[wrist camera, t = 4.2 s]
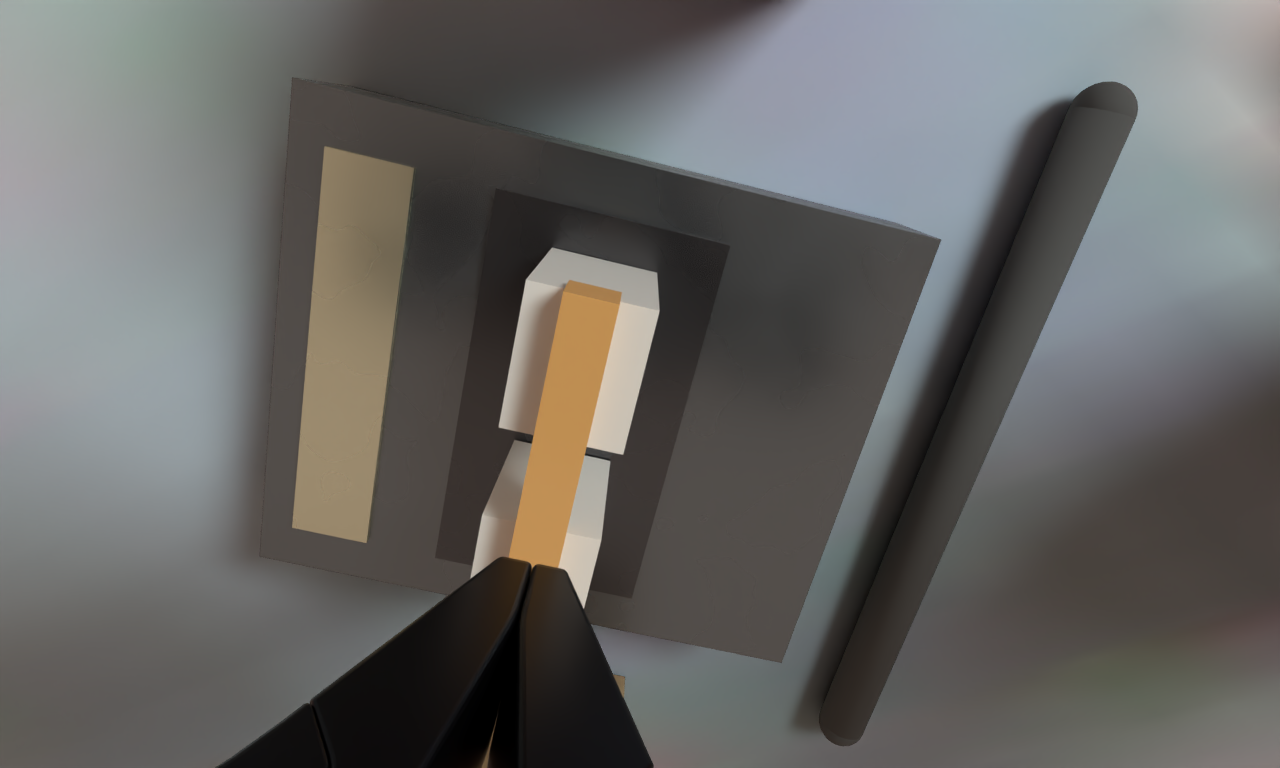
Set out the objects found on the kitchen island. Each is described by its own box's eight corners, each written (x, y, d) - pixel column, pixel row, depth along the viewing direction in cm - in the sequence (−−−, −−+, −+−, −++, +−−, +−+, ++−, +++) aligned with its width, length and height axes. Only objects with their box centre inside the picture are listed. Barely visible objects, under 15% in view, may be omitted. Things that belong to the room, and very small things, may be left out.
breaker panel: (896, 223, 16) (944, 241, 13) (764, 596, 19) (782, 667, 16) (349, 86, 15) (288, 77, 12) (310, 501, 18) (255, 560, 16)
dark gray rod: (1124, 91, 15) (1163, 88, 14) (849, 725, 20) (861, 760, 19) (1069, 77, 15) (1104, 72, 13) (809, 717, 20) (818, 752, 19)
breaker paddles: (658, 267, 13) (662, 314, 10) (585, 562, 15) (567, 684, 12) (553, 242, 13) (520, 281, 10) (493, 543, 15) (450, 660, 12)
